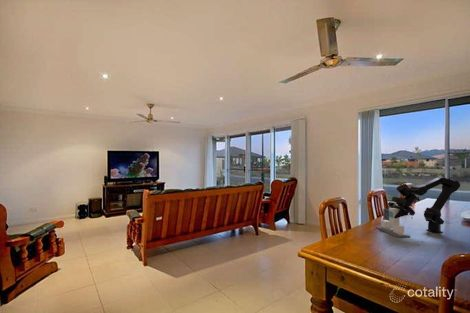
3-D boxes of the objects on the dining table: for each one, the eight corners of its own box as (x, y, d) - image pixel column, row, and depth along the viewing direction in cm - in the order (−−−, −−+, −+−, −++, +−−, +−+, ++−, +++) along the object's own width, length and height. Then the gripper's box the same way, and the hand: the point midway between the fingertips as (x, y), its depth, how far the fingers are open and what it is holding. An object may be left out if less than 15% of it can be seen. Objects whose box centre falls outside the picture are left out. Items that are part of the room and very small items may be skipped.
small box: (398, 225, 173) (398, 211, 173) (388, 225, 175) (388, 211, 175) (392, 222, 184) (391, 208, 184) (382, 221, 185) (382, 208, 185)
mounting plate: (388, 227, 168) (388, 219, 168) (410, 237, 148) (410, 227, 148) (376, 228, 168) (376, 219, 168) (396, 237, 148) (396, 227, 148)
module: (394, 225, 160) (394, 208, 161) (399, 227, 156) (399, 209, 156) (388, 225, 160) (388, 208, 160) (393, 227, 156) (393, 209, 156)
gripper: (390, 190, 168) (375, 206, 167) (410, 194, 149) (394, 212, 149) (400, 201, 168) (385, 216, 168) (422, 206, 149) (406, 224, 149)
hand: (392, 217), depth 158 cm, fingers closed on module, 4 cm apart
